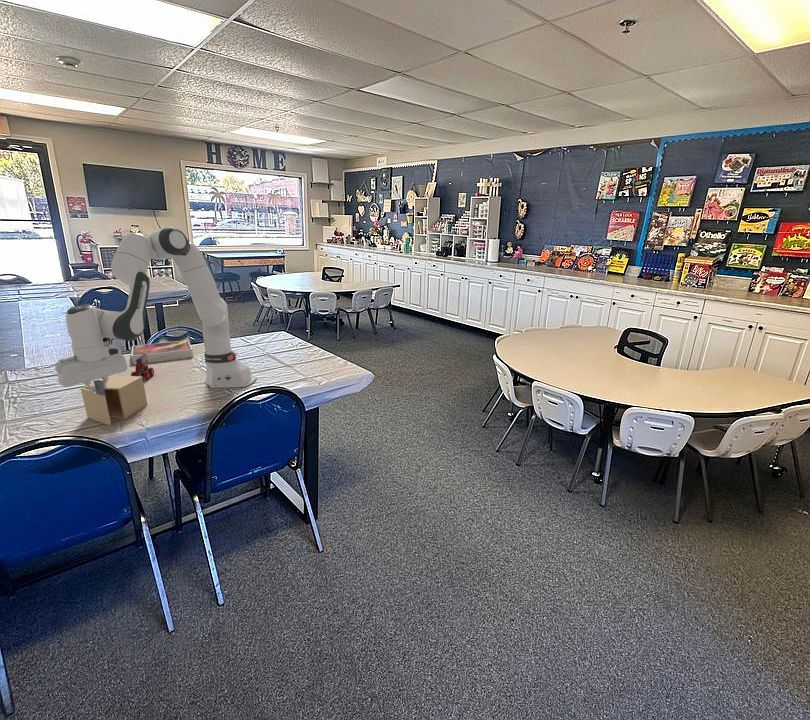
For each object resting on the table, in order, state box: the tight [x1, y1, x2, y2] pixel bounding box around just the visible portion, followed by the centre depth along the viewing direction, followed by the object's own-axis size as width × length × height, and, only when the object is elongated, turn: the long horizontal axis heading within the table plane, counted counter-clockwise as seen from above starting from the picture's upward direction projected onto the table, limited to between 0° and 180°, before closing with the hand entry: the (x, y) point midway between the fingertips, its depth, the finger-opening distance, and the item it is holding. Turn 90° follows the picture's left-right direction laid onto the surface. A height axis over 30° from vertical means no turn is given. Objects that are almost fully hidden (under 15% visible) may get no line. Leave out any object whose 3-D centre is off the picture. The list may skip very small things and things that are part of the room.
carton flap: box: [80, 379, 112, 426], centre depth 153 cm, size 14×1×17 cm, turn 63°
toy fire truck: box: [130, 354, 155, 381], centre depth 198 cm, size 7×12×10 cm, turn 11°
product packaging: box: [130, 339, 194, 365], centre depth 232 cm, size 22×28×5 cm
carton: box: [82, 374, 148, 419], centre depth 163 cm, size 14×13×12 cm
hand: (98, 390), depth 149 cm, fingers closed
